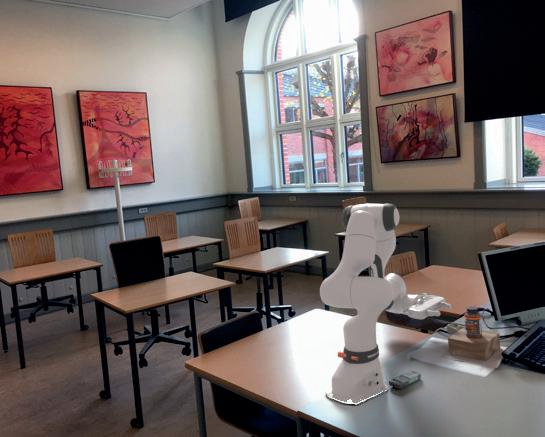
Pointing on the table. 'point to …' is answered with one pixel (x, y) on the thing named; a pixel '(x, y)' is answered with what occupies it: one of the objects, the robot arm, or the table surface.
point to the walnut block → (474, 344)
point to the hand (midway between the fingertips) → (445, 310)
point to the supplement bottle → (473, 322)
